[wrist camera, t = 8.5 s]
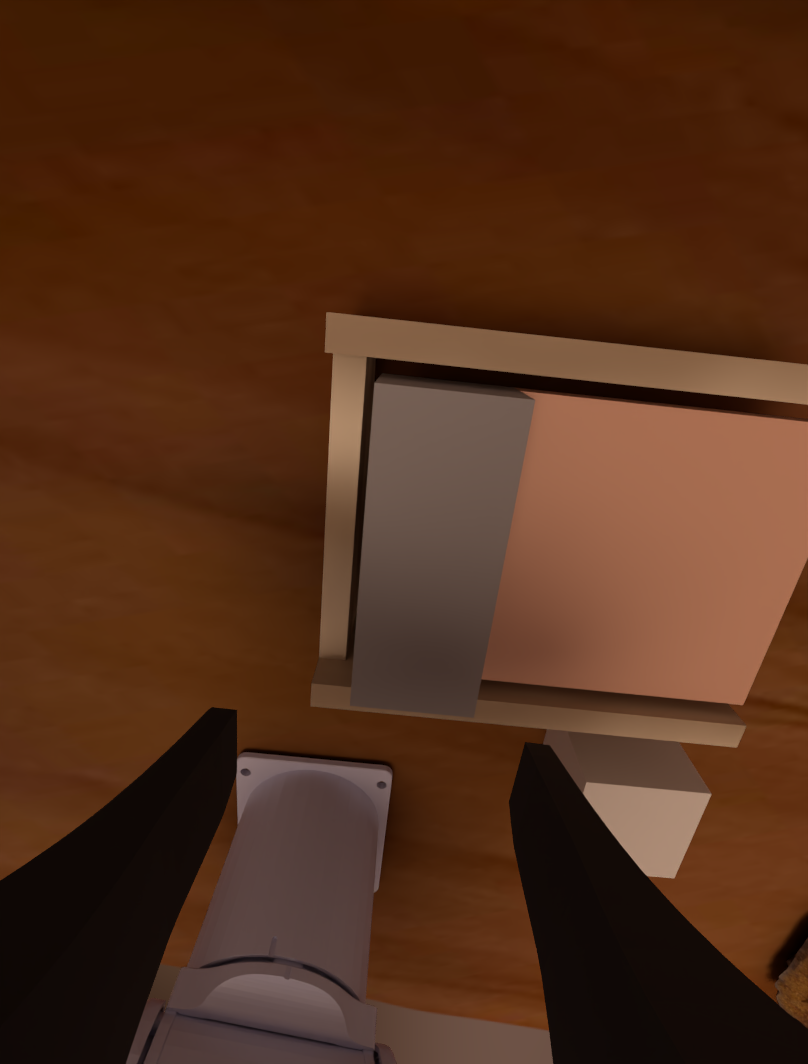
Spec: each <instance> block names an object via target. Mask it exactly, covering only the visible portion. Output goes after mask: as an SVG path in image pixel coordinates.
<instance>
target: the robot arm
mask: <svg viewBox="0 0 808 1064" xmlns="http://www.w3.org/2000/svg"><path fill="white" fill-rule="evenodd" d="M245 768H246V769H249V770H246V769H245ZM235 777H236V781H237V815H238V827H237V830H236V833H235V836H234V838H233V841H232V844H231V847H230V849H229V852H228V855H227V858H226V861H225V863H224V866H223V869H222V872H221V874H220V877H219V880H218V883H217V886H216V888H215V891H214V894H213V897H212V899H211V902H210V905H209V908H208V911H207V913H206V916H205V919H204V922H203V924H202V927H201V930H200V933H199V935H198V938H197V941H196V944H195V947H194V949H193V952H192V955H191V958H190V960H189V963H188V966H187V967H182V968H181V969H180V972H179V975H178V977H177V980H176V983H175V986H174V988H173V991H172V993H171V996H170V999H169V1002H168V1004H167V1007H166V1010H165V1002H166V1001H165V1000H161V999H156V998H151V999H149V1000H148V1001H147V999H148V996H149V994H150V991H151V988H152V985H153V982H154V979H155V977H156V974H157V971H158V968H159V965H160V962H161V960H162V957H163V954H164V951H165V948H166V946H167V943H168V940H169V937H170V935H171V932H172V930H173V927H174V925H175V922H176V920H177V918H178V915H179V913H180V911H181V908H182V906H183V904H184V902H185V899H186V897H187V895H188V893H189V891H190V888H191V886H192V884H193V882H194V879H195V877H196V875H197V873H198V871H199V868H200V866H201V864H202V862H203V859H204V857H205V855H206V853H207V851H208V848H209V846H210V844H211V841H212V839H213V837H214V835H215V832H216V830H217V828H218V826H219V823H220V821H221V819H222V816H223V814H224V811H225V808H226V805H227V802H228V799H229V796H230V793H231V790H232V787H233V783H234V780H235ZM380 781H383V783H381V782H380ZM391 783H392V770H391V768H390V767H388V766H385V765H377V764H367V763H356V762H346V761H335V760H325V759H314V758H304V757H293V756H283V755H272V754H262V753H251V752H244V753H241V754H240V755H239V756H238V758H237V710H231V709H222V708H214V707H212V708H210V709H209V710H208V711H207V712H206V713H205V714H204V715H203V716H202V717H201V718H200V719H199V720H198V721H197V722H196V723H195V724H194V725H193V726H192V727H191V728H190V729H189V730H188V731H187V732H186V733H185V734H184V735H183V736H182V737H181V738H180V739H179V740H178V741H177V742H176V743H175V744H174V745H173V746H172V747H171V748H170V749H169V750H168V751H167V752H165V753H164V754H163V755H162V756H161V757H160V758H159V759H158V760H157V761H156V762H155V763H154V764H153V765H151V766H150V767H149V768H148V769H147V770H146V771H145V772H144V773H143V774H142V775H141V776H139V777H138V778H137V779H136V780H135V781H134V782H133V783H131V784H130V785H129V786H128V787H127V788H125V789H124V790H123V791H122V792H121V793H120V794H118V795H117V796H116V797H115V798H114V799H113V800H111V801H110V802H109V803H108V804H107V805H105V806H104V807H103V808H102V809H100V810H99V811H98V812H97V813H95V814H94V815H93V816H92V817H90V818H89V819H88V820H86V821H85V822H84V823H83V824H81V825H80V826H79V827H77V828H76V829H75V830H73V831H72V832H71V833H69V834H68V835H67V836H65V837H64V838H62V839H61V840H60V841H58V842H57V843H55V844H54V845H53V846H51V847H50V848H48V849H47V850H45V851H44V852H42V853H41V854H40V855H38V856H37V857H35V858H34V859H32V860H31V861H29V862H28V863H27V864H25V865H24V866H22V867H21V868H19V869H18V870H16V871H14V872H13V873H11V874H10V875H8V876H7V877H5V878H4V879H2V880H1V881H0V1064H397V1063H396V1060H395V1057H394V1054H393V1052H392V1050H391V1049H390V1047H388V1046H387V1045H384V1044H380V1043H375V1034H376V1017H377V1008H376V1007H375V1006H372V1005H368V1004H365V1000H366V987H367V974H368V961H369V948H370V935H371V922H372V908H373V895H374V892H376V891H377V890H378V888H379V880H380V872H381V864H382V856H383V848H384V840H385V832H386V824H387V816H388V808H389V800H390V792H391ZM509 806H510V816H511V826H512V834H513V843H514V849H515V854H516V858H517V863H518V868H519V872H520V877H521V881H522V886H523V890H524V895H525V899H526V904H527V908H528V913H529V917H530V922H531V926H532V931H533V935H534V940H535V944H536V948H537V953H538V959H539V964H540V969H541V975H542V982H543V989H544V996H545V1003H546V1010H547V1018H548V1025H549V1032H550V1040H551V1048H552V1056H553V1064H808V1029H807V1028H806V1027H805V1026H804V1025H802V1024H801V1023H800V1022H799V1021H797V1020H796V1019H795V1018H794V1017H792V1016H791V1015H790V1014H789V1013H788V1012H786V1011H785V1010H784V1009H783V1008H782V1007H780V1006H779V1005H778V1004H777V1003H776V1002H775V1001H774V1000H772V999H771V998H770V997H769V996H768V995H767V994H766V993H764V992H763V991H762V990H761V989H760V988H759V987H758V986H756V985H755V984H754V983H753V982H752V981H751V980H750V979H748V978H747V977H746V976H745V975H744V974H743V973H742V972H741V971H740V970H739V969H737V968H736V967H735V966H734V965H733V964H732V963H731V962H730V961H729V960H728V959H727V958H725V957H724V956H723V955H722V954H721V953H720V952H719V951H718V950H717V949H716V948H715V947H714V946H713V945H712V944H711V943H710V942H709V941H708V940H707V939H706V938H705V937H704V936H703V935H702V934H701V933H700V932H699V931H698V930H697V929H696V928H695V927H694V926H693V925H692V924H691V923H690V922H689V921H688V920H687V919H686V918H685V917H684V916H683V915H682V914H681V913H680V912H679V911H678V910H677V909H676V908H675V907H674V906H673V905H672V903H671V902H670V901H669V900H668V899H667V898H666V897H665V896H664V895H663V894H662V893H661V891H660V890H659V889H658V888H657V887H656V886H655V885H654V884H653V883H652V882H651V880H650V879H649V878H648V877H647V876H646V875H645V874H644V872H643V871H642V870H641V869H640V868H639V866H638V865H637V864H636V863H635V862H634V860H633V859H632V858H631V857H630V855H629V854H628V853H627V852H626V850H625V849H624V848H623V847H622V845H621V844H620V843H619V842H618V840H617V839H616V838H615V836H614V835H613V834H612V833H611V831H610V830H609V829H608V827H607V826H606V825H605V823H604V822H603V821H602V819H601V818H600V816H599V815H598V814H597V812H596V811H595V810H594V808H593V807H592V806H591V804H590V803H589V801H588V800H587V799H586V797H585V796H584V794H583V793H582V791H581V790H580V789H579V787H578V786H577V784H576V783H575V781H574V780H573V778H572V777H571V776H570V774H569V773H568V771H567V770H566V768H565V767H564V765H563V764H562V762H561V761H560V759H559V758H558V756H557V755H556V753H555V752H554V750H553V749H552V748H551V746H550V745H545V744H536V743H527V742H525V745H524V749H523V753H522V756H521V760H520V764H519V767H518V771H517V775H516V778H515V782H514V786H513V789H512V793H511V797H510V800H509ZM164 1010H165V1012H164Z"/></svg>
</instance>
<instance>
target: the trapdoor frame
mask: <svg viewBox="0 0 808 1064" xmlns="http://www.w3.org/2000/svg"><path fill="white" fill-rule="evenodd" d="M325 352H327V353H333V369H332V391H331V413H330V434H329V456H328V477H327V499H326V520H325V542H324V563H323V585H322V606H321V628H320V649H319V660H318V663H317V667H316V670H315V673H314V677H313V680H312V683H311V706H314V707H324V708H334V709H344V710H355V711H365V712H375V713H386V714H396V715H406V716H417V717H427V718H437V719H448V720H458V721H468V722H479V723H489V724H499V725H510V726H520V727H530V728H541V729H551V730H561V731H572V732H582V733H592V734H603V735H613V736H623V737H634V738H644V739H654V740H665V741H675V742H685V743H696V744H706V745H716V746H727V747H737V746H738V744H739V742H740V739H741V737H742V735H743V733H744V731H745V728H746V725H745V723H744V722H743V721H742V720H741V719H740V717H739V716H738V715H737V714H736V713H735V711H734V710H733V709H732V708H731V707H730V706H729V704H727V703H717V702H707V701H697V700H686V699H676V698H666V697H656V696H646V695H635V694H625V693H615V692H605V691H595V690H585V689H574V688H564V687H554V686H544V685H534V684H523V683H513V682H503V681H493V680H483V679H481V684H480V689H479V694H478V699H477V704H476V710H475V715H474V718H470V717H460V716H450V715H439V714H429V713H419V712H408V711H398V710H388V709H377V708H367V707H357V706H350V696H351V683H352V670H353V657H354V643H355V630H356V617H357V601H358V588H359V574H360V561H361V548H362V535H363V522H364V509H365V496H366V483H367V470H368V457H369V444H370V431H371V417H372V404H373V391H374V378H375V365H376V358H382V359H392V360H401V361H410V362H419V363H429V364H438V365H447V366H456V367H466V368H475V369H484V370H493V371H503V372H512V373H521V374H530V375H540V376H549V377H558V378H567V379H577V380H586V381H595V382H604V383H613V384H623V385H632V386H641V387H650V388H660V389H669V390H678V391H687V392H697V393H706V394H715V395H724V396H734V397H743V398H752V399H761V400H771V401H780V402H789V403H798V404H808V365H805V364H796V363H787V362H778V361H769V360H760V359H751V358H741V357H732V356H723V355H714V354H705V353H696V352H687V351H678V350H668V349H659V348H650V347H641V346H632V345H623V344H614V343H605V342H595V341H586V340H577V339H568V338H559V337H550V336H541V335H531V334H522V333H513V332H504V331H495V330H486V329H477V328H468V327H458V326H449V325H440V324H431V323H422V322H413V321H404V320H394V319H385V318H376V317H367V316H358V315H349V314H340V313H331V312H327V313H326V337H325Z"/></svg>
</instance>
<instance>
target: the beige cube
mask: <svg viewBox="0 0 808 1064" xmlns="http://www.w3.org/2000/svg"><path fill="white" fill-rule="evenodd" d="M543 744H545V745H550V746H551V748H552V749H553V750H554V752H555V753H556V755H557V756H558V758H559V759H560V761H561V762H562V764H563V765H564V767H565V768H566V770H567V771H568V773H569V774H570V776H571V777H572V778H573V780H574V781H575V783H576V784H577V786H578V787H579V789H580V790H581V791H582V793H583V794H584V796H585V797H586V799H587V800H588V801H589V803H590V804H591V806H592V807H593V808H594V810H595V811H596V812H597V814H598V815H599V816H600V818H601V819H602V821H603V822H604V823H605V825H606V826H607V827H608V829H609V830H610V831H611V833H612V834H613V835H614V836H615V838H616V839H617V840H618V842H619V843H620V844H621V845H622V847H623V848H624V849H625V850H626V852H627V853H628V854H629V855H630V857H631V858H632V859H633V860H634V862H635V863H636V864H637V865H638V866H639V868H640V869H641V870H642V871H643V872H644V874H645V875H646V876H654V877H665V878H675V875H676V873H677V871H678V869H679V866H680V864H681V862H682V860H683V857H684V855H685V853H686V850H687V848H688V846H689V844H690V841H691V839H692V837H693V835H694V832H695V830H696V828H697V826H698V823H699V821H700V819H701V817H702V814H703V812H704V810H705V808H706V805H707V803H708V801H709V798H710V796H711V792H710V791H709V789H708V788H707V786H706V784H705V783H704V781H703V780H702V778H701V777H700V775H699V773H698V772H697V770H696V769H695V767H694V766H693V764H692V762H691V761H690V759H689V758H688V756H687V754H686V753H685V751H684V750H683V748H682V747H681V745H680V743H679V742H675V741H665V740H654V739H644V738H634V737H623V736H613V735H603V734H592V733H582V732H572V731H561V730H551V729H547V731H546V735H545V739H544V743H543Z"/></svg>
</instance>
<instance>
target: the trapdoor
mask: <svg viewBox="0 0 808 1064" xmlns="http://www.w3.org/2000/svg"><path fill="white" fill-rule="evenodd" d="M807 558H808V419H803V418H794V417H784V416H775V415H766V414H757V413H747V412H738V411H729V410H719V409H710V408H701V407H692V406H682V405H673V404H664V403H654V402H645V401H636V400H627V399H617V398H608V397H599V396H589V395H580V394H571V393H562V392H552V391H543V390H534V389H525V388H515V387H506V386H497V385H487V384H478V383H469V382H460V381H450V380H441V379H432V378H422V377H413V376H404V375H395V374H385V373H382V374H381V375H380V376H379V378H378V379H377V380H376V381H375V383H374V396H373V409H372V422H371V435H370V448H369V461H368V474H367V487H366V500H365V513H364V526H363V539H362V552H361V565H360V578H359V591H358V604H357V617H356V630H355V643H354V657H353V670H352V683H351V696H350V706H357V707H367V708H377V709H388V710H398V711H408V712H419V713H429V714H439V715H450V716H460V717H470V718H474V715H475V710H476V704H477V699H478V694H479V689H480V684H481V679H483V680H493V681H503V682H513V683H523V684H534V685H544V686H554V687H564V688H574V689H585V690H595V691H605V692H615V693H625V694H635V695H646V696H656V697H666V698H676V699H686V700H697V701H707V702H717V703H727V704H737V705H743V704H744V702H745V699H746V697H747V695H748V693H749V690H750V688H751V686H752V684H753V681H754V679H755V677H756V674H757V672H758V670H759V668H760V665H761V663H762V661H763V658H764V656H765V654H766V652H767V649H768V647H769V645H770V643H771V640H772V638H773V636H774V633H775V631H776V629H777V627H778V624H779V622H780V620H781V617H782V615H783V613H784V611H785V608H786V606H787V604H788V602H789V599H790V597H791V595H792V592H793V590H794V588H795V586H796V583H797V581H798V579H799V576H800V574H801V572H802V570H803V567H804V565H805V563H806V561H807Z"/></svg>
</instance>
